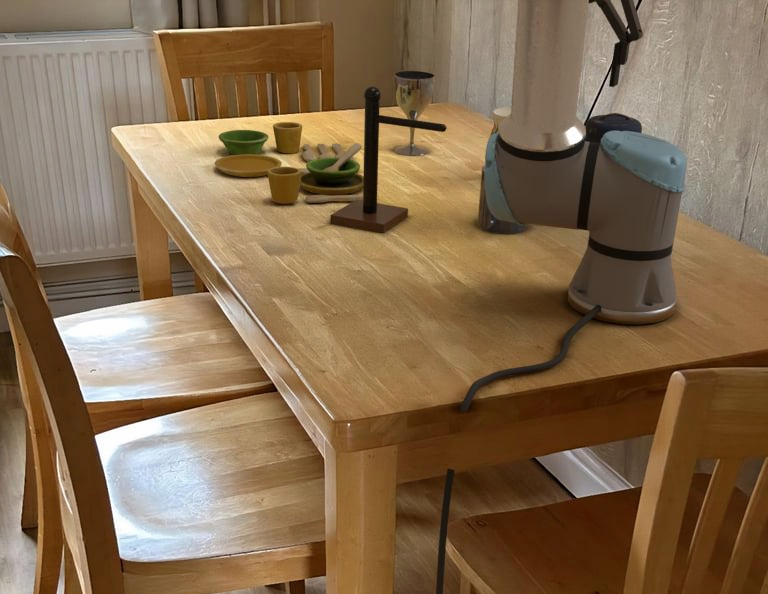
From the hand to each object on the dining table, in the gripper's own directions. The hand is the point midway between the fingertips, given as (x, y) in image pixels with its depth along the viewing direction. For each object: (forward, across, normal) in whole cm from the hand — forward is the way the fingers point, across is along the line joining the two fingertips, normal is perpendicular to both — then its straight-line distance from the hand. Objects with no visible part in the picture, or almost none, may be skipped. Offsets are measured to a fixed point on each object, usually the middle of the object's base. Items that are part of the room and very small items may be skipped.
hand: (573, 80), depth 175 cm
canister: (+23, -8, -1) cm, 24 cm away
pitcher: (+22, +14, -14) cm, 30 cm away
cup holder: (+23, +23, +20) cm, 38 cm away
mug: (+23, +6, +13) cm, 27 cm away
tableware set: (+23, +53, +4) cm, 58 cm away
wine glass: (+22, +40, -24) cm, 52 cm away
